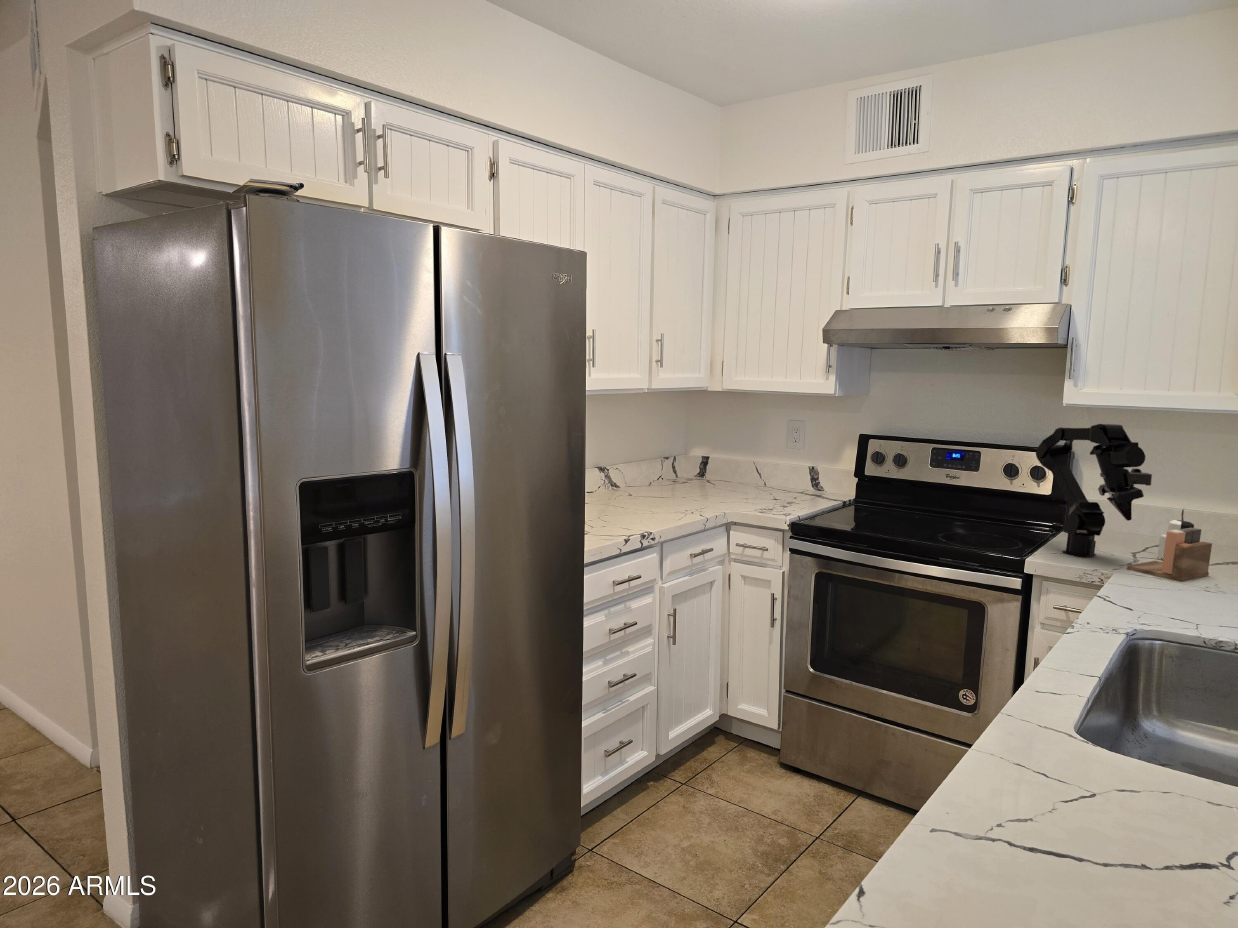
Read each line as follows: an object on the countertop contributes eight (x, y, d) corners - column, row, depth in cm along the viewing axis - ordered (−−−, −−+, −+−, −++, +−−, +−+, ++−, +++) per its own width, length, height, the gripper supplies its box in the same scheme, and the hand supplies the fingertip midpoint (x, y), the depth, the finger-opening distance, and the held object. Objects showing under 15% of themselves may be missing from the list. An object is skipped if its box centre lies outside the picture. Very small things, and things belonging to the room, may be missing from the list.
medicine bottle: (1182, 559, 240) (1187, 519, 238) (1196, 565, 233) (1202, 524, 231) (1156, 557, 240) (1162, 518, 239) (1170, 563, 233) (1176, 522, 232)
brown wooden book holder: (1126, 569, 223) (1132, 525, 222) (1154, 563, 232) (1160, 521, 230) (1181, 581, 212) (1187, 535, 210) (1208, 575, 220) (1214, 531, 219)
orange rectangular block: (1161, 571, 216) (1167, 530, 215) (1169, 570, 219) (1175, 529, 217) (1171, 574, 214) (1177, 532, 213) (1179, 572, 217) (1185, 531, 215)
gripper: (1155, 462, 217) (1173, 517, 217) (1131, 456, 235) (1148, 507, 235) (1110, 474, 221) (1128, 528, 221) (1090, 467, 238) (1107, 518, 239)
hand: (1129, 520), depth 229 cm, fingers closed
